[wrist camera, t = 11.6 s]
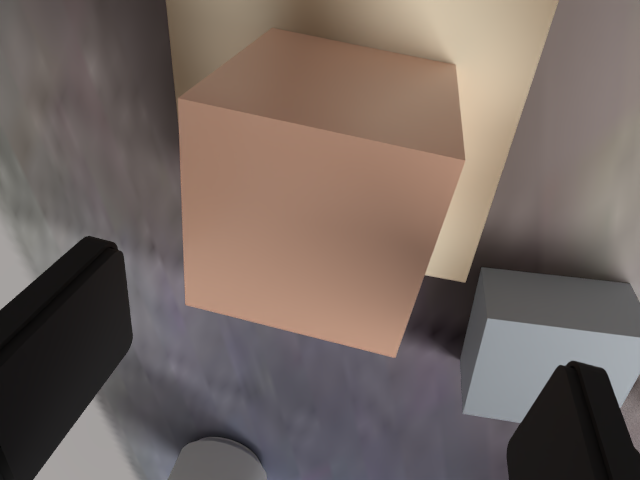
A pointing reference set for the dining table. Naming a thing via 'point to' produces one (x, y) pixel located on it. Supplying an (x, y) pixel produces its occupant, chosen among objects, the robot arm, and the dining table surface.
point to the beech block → (410, 39)
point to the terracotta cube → (317, 185)
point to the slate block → (544, 338)
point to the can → (217, 461)
